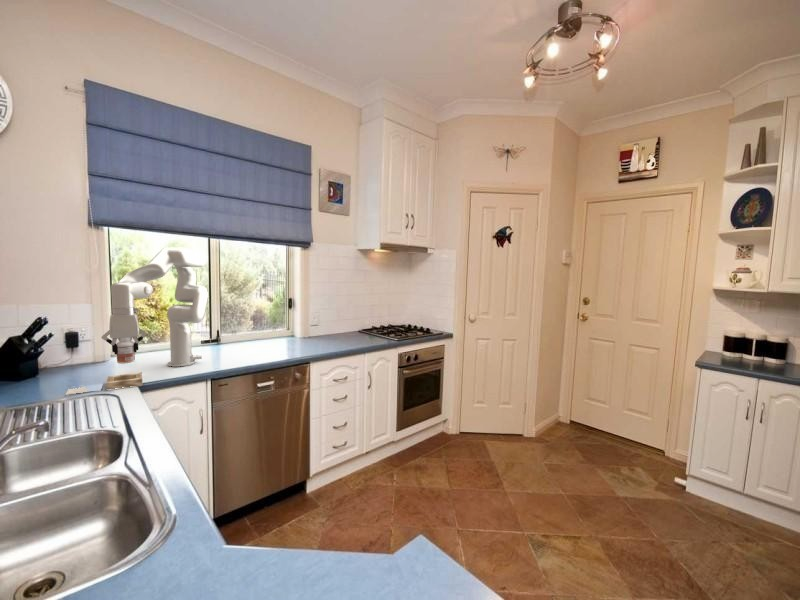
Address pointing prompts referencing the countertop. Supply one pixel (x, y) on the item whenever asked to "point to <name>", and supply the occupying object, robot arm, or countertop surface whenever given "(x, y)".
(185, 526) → the countertop surface
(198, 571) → the countertop surface
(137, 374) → the holder block
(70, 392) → the cream pad
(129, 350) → the pill bottle
